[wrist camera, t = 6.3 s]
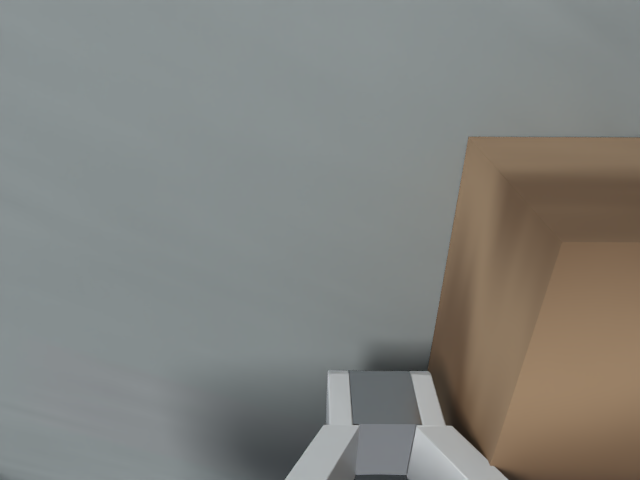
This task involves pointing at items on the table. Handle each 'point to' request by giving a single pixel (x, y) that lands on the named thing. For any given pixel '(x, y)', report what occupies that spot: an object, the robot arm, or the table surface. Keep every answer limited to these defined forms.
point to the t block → (544, 308)
